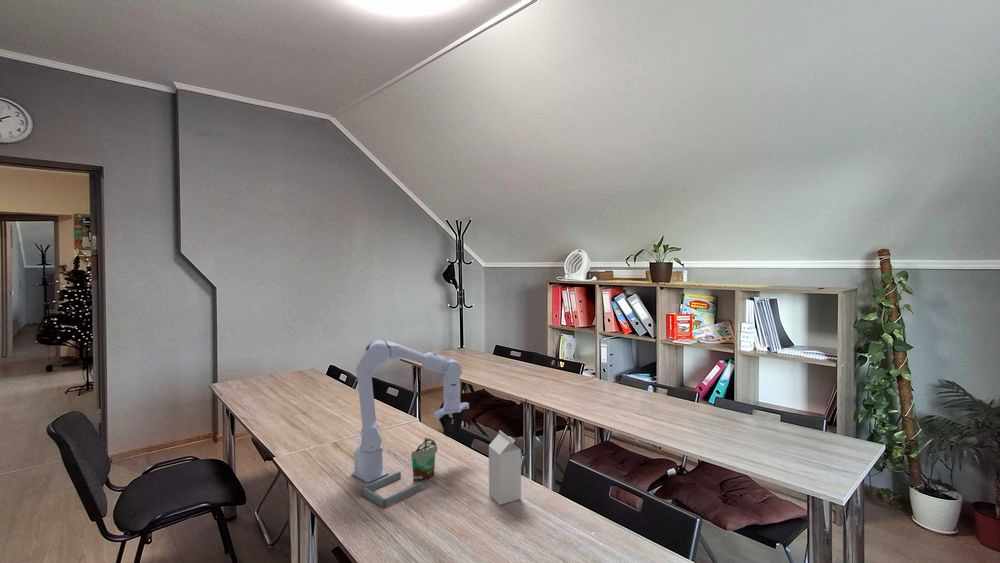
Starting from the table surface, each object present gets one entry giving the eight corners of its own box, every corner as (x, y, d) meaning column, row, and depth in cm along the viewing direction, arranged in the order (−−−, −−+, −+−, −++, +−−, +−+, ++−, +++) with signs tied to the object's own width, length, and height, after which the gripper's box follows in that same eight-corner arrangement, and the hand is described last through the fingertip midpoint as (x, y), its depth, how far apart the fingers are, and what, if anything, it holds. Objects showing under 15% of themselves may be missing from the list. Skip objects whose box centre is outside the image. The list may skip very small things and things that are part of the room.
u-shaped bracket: (361, 493, 137) (361, 487, 137) (399, 477, 148) (399, 471, 147) (384, 507, 130) (384, 500, 129) (422, 489, 140) (422, 482, 140)
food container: (430, 485, 142) (429, 453, 142) (411, 483, 144) (411, 452, 143) (442, 467, 154) (442, 438, 154) (425, 465, 156) (425, 437, 155)
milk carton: (499, 505, 130) (499, 440, 129) (488, 494, 137) (488, 432, 136) (521, 499, 134) (521, 436, 133) (509, 488, 140) (509, 428, 139)
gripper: (443, 402, 148) (444, 443, 149) (475, 392, 159) (475, 430, 160) (429, 398, 153) (430, 437, 153) (460, 388, 164) (461, 425, 164)
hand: (452, 433), depth 157 cm, fingers open, 4 cm apart
